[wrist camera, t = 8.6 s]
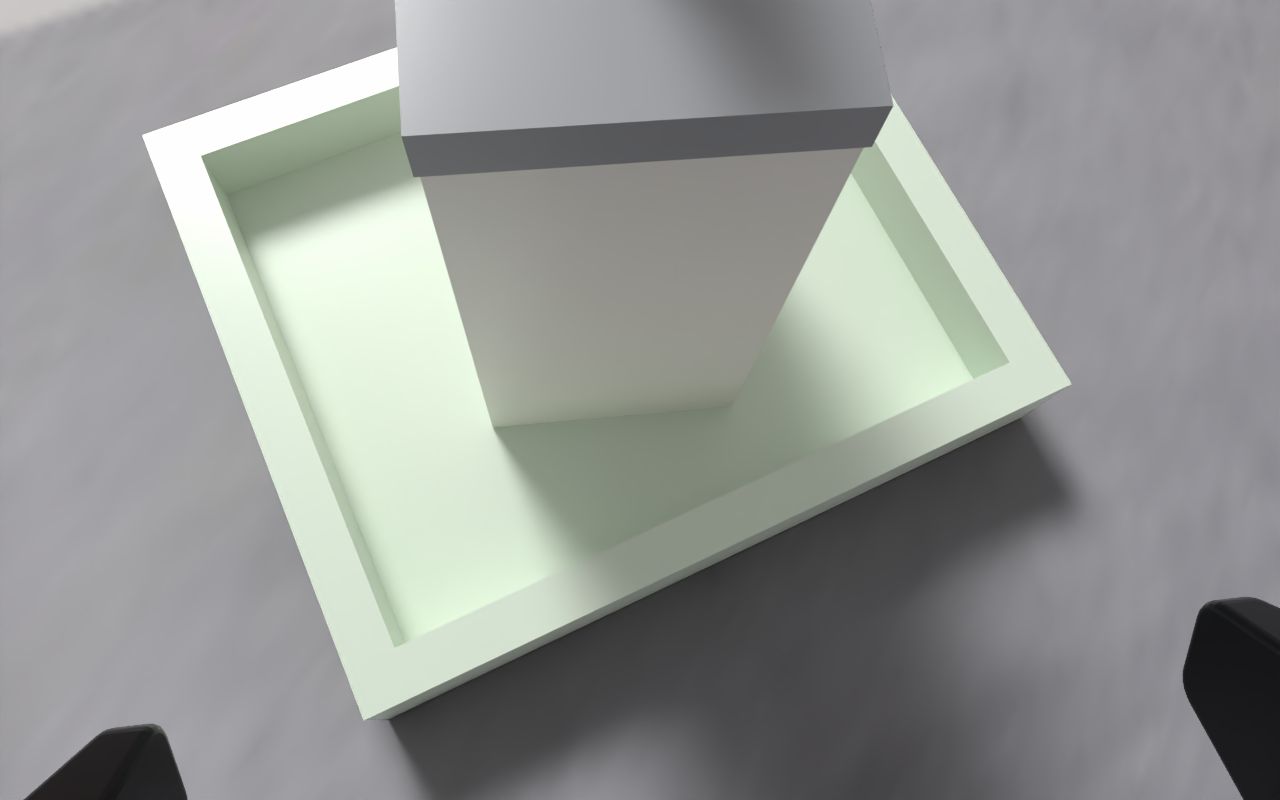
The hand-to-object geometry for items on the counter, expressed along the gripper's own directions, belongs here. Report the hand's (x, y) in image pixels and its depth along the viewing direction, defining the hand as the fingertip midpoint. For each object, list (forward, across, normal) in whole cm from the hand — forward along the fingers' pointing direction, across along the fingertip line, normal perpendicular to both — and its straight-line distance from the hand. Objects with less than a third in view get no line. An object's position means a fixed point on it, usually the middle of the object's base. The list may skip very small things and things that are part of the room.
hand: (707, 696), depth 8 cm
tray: (+12, 0, +1) cm, 12 cm away
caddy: (+11, 0, 0) cm, 11 cm away
